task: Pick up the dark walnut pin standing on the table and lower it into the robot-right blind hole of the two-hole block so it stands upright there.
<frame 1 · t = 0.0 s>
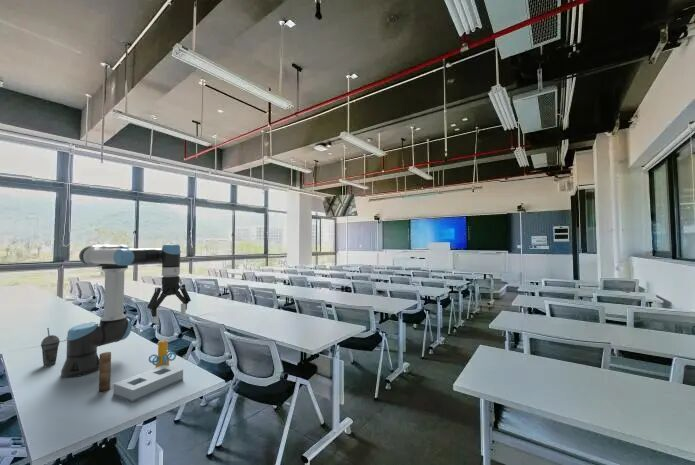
hand: (170, 319, 143), 28 cm above the table, tool pointing down, fingers open, 13 cm apart
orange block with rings: (162, 370, 151), on the table
hole block: (149, 387, 133), on the table
pin: (104, 390, 131), on the table
beverage cup: (49, 365, 159), on the table
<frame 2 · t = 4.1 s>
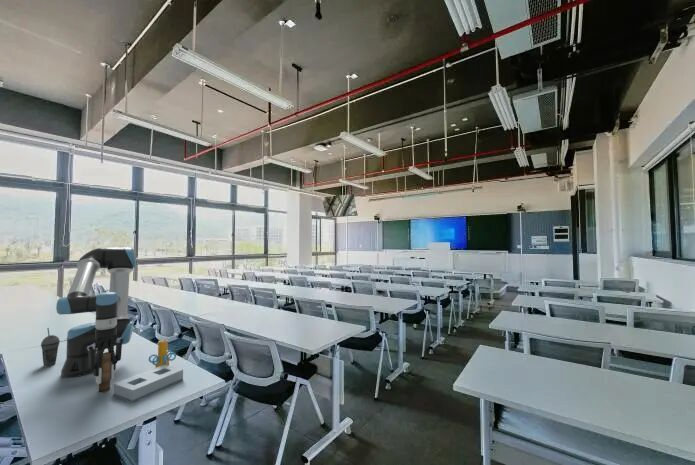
hand: (104, 380, 131), 4 cm above the table, tool pointing down, fingers closed on pin, 4 cm apart
pin: (104, 390, 131), on the table, touching gripper
everything else where it was.
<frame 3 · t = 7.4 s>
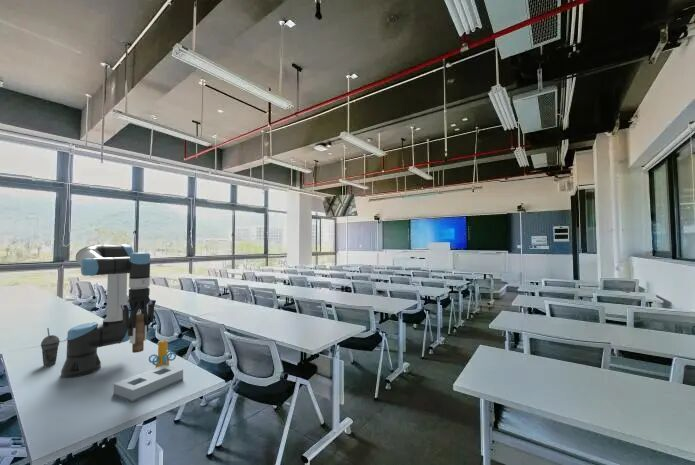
hand: (138, 341, 129), 22 cm above the table, tool pointing down, fingers closed on pin, 4 cm apart
pin: (137, 350, 129), point 18 cm above the table, touching gripper
everything else where it was.
when the fingers open (7 cm above the table, at t = 10.7 s): pin drops 2 cm, resting on hole block.
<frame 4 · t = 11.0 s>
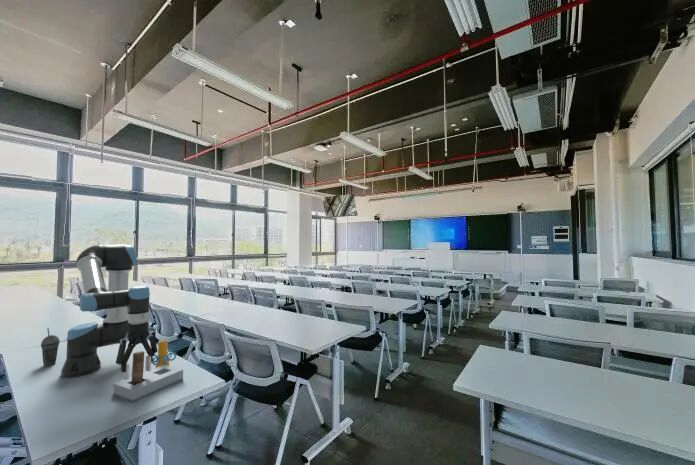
hand: (137, 374, 128), 8 cm above the table, tool pointing down, fingers open, 8 cm apart
pin: (136, 390, 128), point 1 cm above the table, touching hole block
everything else where it was.
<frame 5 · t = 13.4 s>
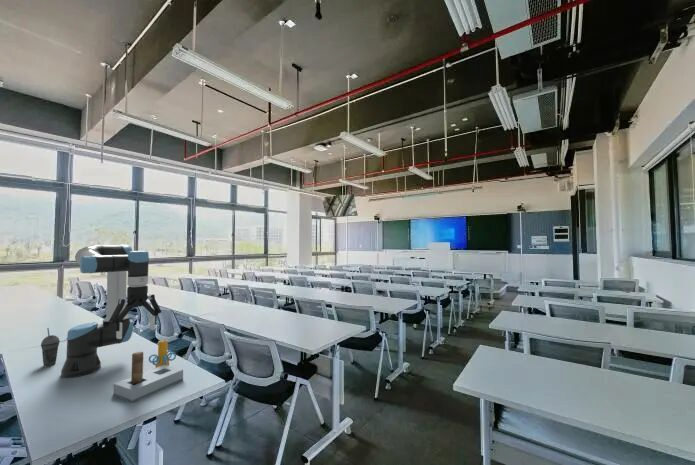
hand: (136, 333, 130), 25 cm above the table, tool pointing down, fingers open, 13 cm apart
nothing on the table moved.
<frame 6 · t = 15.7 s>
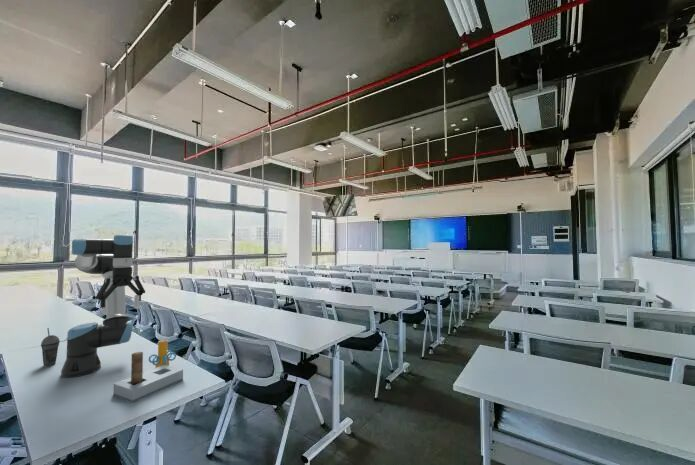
hand: (121, 311, 141), 33 cm above the table, tool pointing down, fingers open, 13 cm apart
nothing on the table moved.
at the end: pin 0.1 cm from the target spot on the hole block, point 1.0 cm above the hole block's base; pin tilted 0°; the gripper is holding nothing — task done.
